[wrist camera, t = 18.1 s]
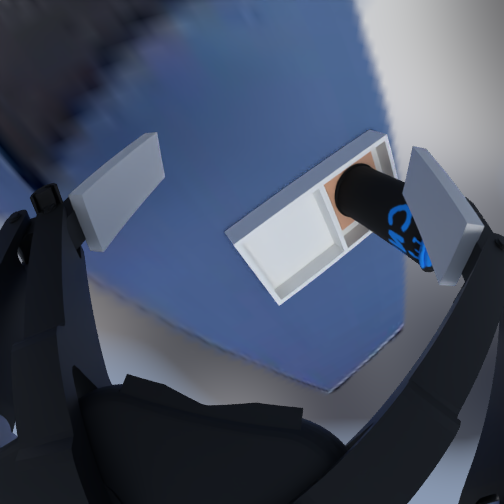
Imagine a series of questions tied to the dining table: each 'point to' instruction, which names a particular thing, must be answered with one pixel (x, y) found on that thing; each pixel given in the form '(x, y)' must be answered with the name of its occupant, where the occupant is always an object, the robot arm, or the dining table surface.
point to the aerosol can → (381, 210)
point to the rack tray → (307, 221)
